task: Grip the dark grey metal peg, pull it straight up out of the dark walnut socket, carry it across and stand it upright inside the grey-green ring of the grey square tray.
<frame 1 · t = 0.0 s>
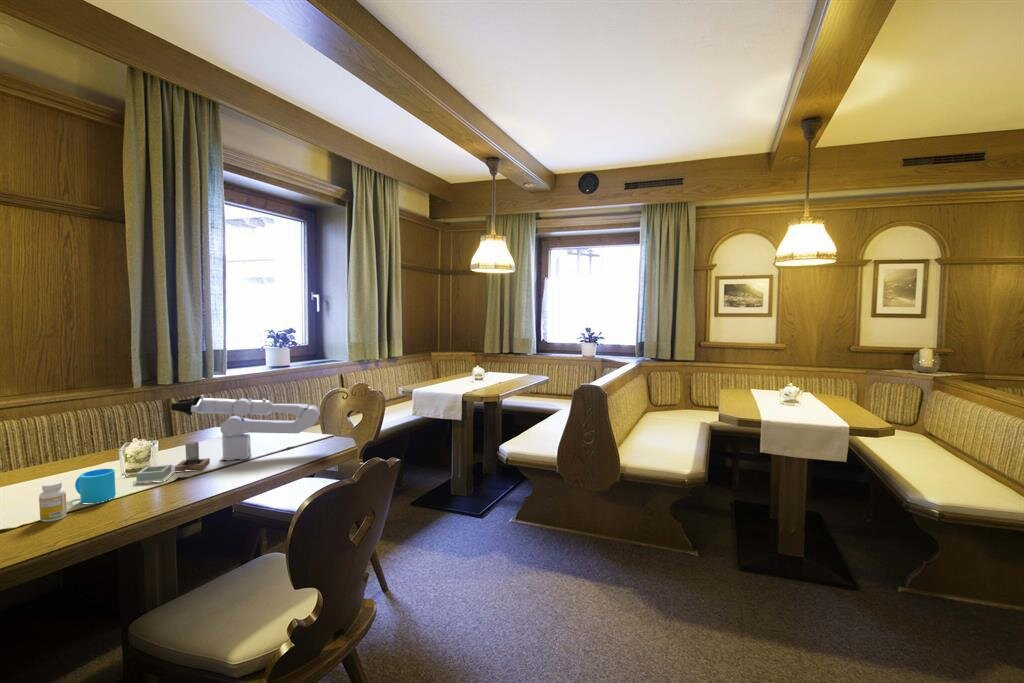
hand: (175, 404, 188), 22 cm above the table, tool horizontal, fingers open, 7 cm apart
peg: (192, 455, 181), in the socket
socket: (192, 467, 182), on the table
mug: (93, 499, 151), on the table
supplement bottle: (53, 518, 137), on the table
grey square tray: (154, 478, 170), on the table
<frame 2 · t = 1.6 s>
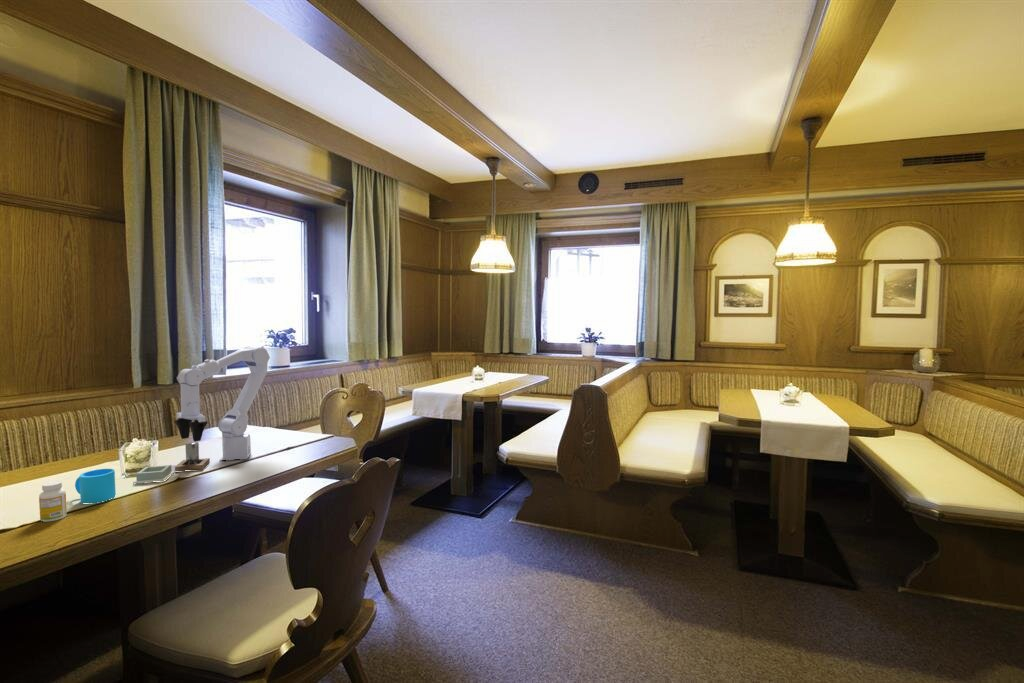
hand: (191, 439, 181), 10 cm above the table, tool pointing down, fingers open, 7 cm apart
nothing on the table moved.
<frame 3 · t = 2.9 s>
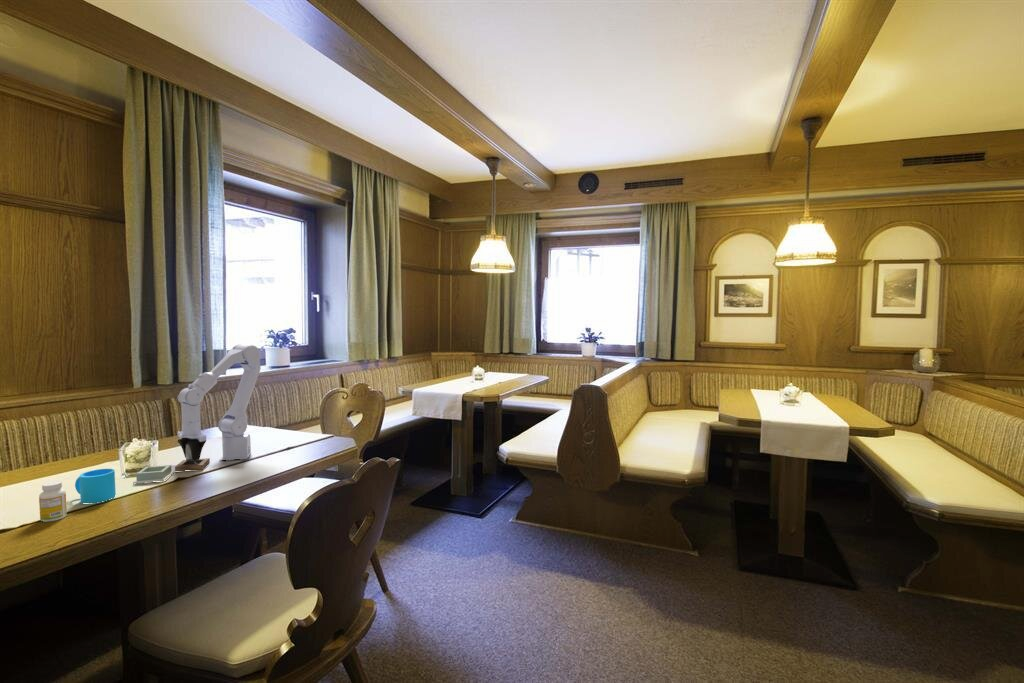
hand: (192, 458, 181), 3 cm above the table, tool pointing down, fingers closed on peg, 4 cm apart
peg: (192, 455, 181), in the socket, touching gripper
everything else where it was.
when the fingers open (5 cm above the table, at t = 7.4 s): peg stays where it is, resting on grey square tray.
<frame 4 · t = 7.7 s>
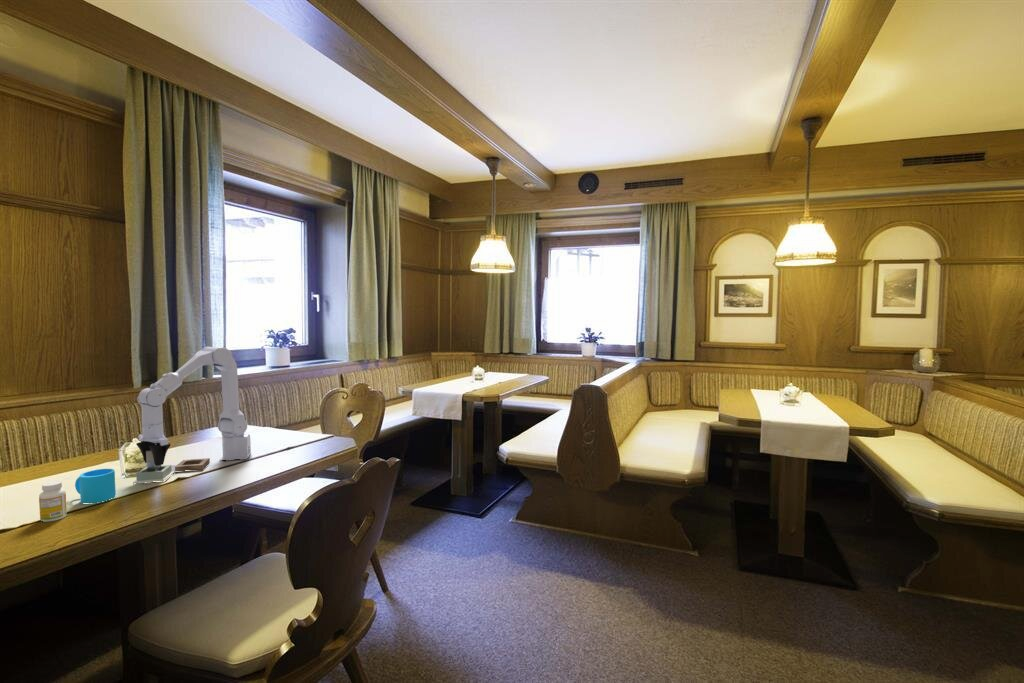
hand: (154, 463, 169), 5 cm above the table, tool pointing down, fingers open, 6 cm apart
peg: (153, 463, 169), in the grey square tray, point 5 cm above the table
everything else where it was.
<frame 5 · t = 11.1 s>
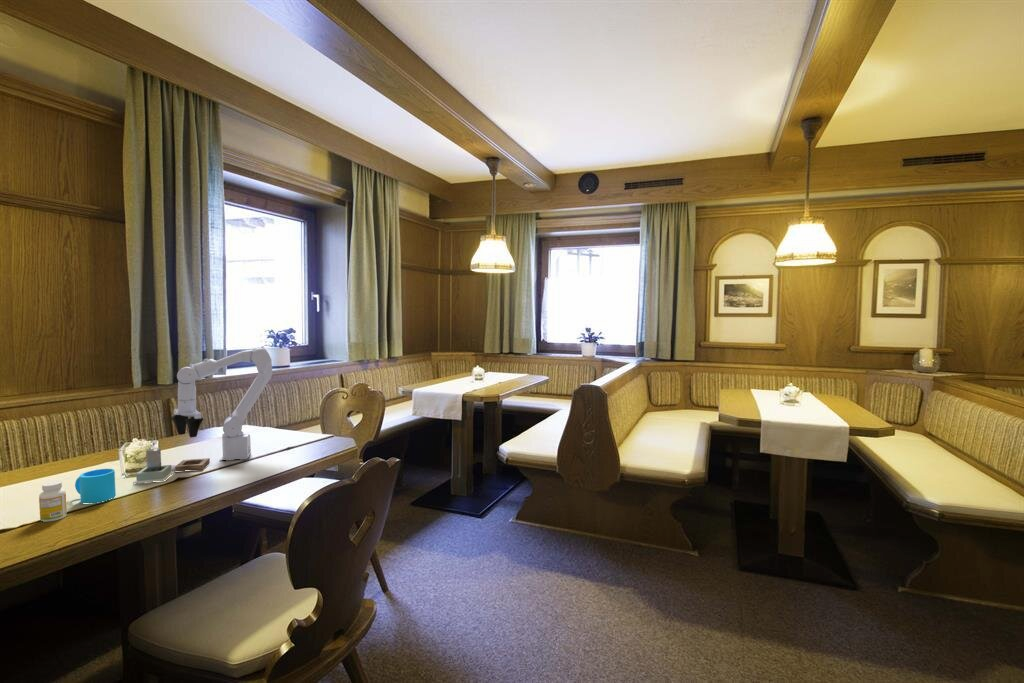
hand: (187, 435, 187), 10 cm above the table, tool pointing down, fingers open, 7 cm apart
nothing on the table moved.
at the end: peg 0.0 cm off-centre on the grey square tray, point 5.3 cm above the grey square tray's base; peg tilted 1°; the gripper is holding nothing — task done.
